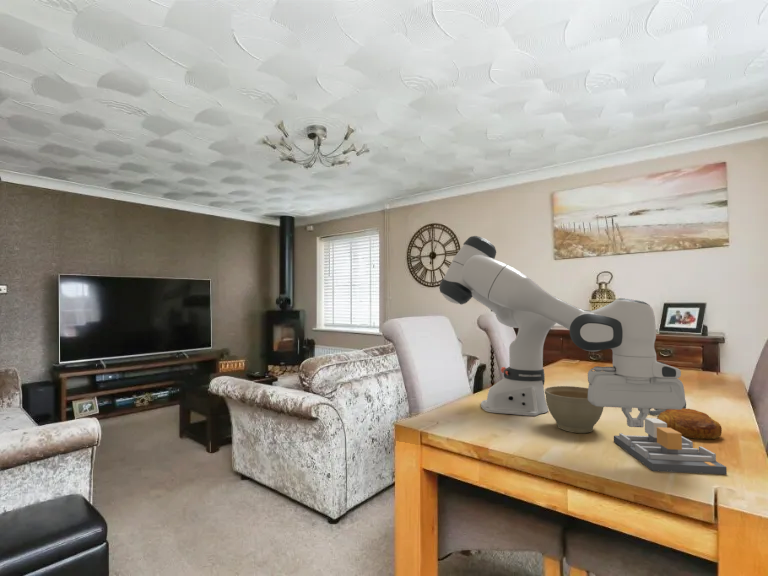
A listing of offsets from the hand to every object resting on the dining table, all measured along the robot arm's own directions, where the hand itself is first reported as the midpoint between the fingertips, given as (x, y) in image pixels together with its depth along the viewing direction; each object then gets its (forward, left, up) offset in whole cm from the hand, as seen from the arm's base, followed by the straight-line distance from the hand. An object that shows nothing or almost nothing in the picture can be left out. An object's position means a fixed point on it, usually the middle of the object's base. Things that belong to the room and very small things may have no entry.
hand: (635, 426), depth 95 cm
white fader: (+9, +8, -6) cm, 13 cm away
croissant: (+25, +24, -9) cm, 36 cm away
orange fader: (+7, 0, -6) cm, 10 cm away
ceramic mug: (+30, +45, -8) cm, 54 cm away
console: (+8, +4, -8) cm, 12 cm away
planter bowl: (-6, +24, -8) cm, 26 cm away
